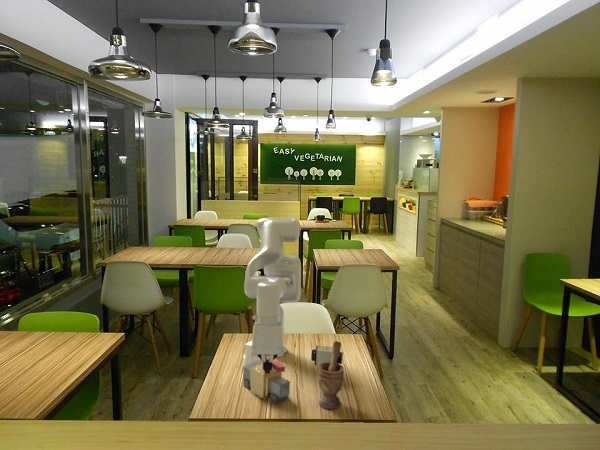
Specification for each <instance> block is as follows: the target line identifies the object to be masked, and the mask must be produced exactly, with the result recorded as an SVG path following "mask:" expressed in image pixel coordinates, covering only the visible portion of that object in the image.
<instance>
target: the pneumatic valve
mask: <svg viewBox="0 0 600 450" xmlns="http://www.w3.org/2000/svg"><path fill="white" fill-rule="evenodd" d="M332 347H333V346H330V345H326V346H325V345H316V346H315V348H313V349H312V350H311V355H310V356H311V359H310V360H311V362H313V363H314V366H316V367H318V366H319V365H320V364H321V363H325V362H331V357H332ZM343 360H344V352H342V351H340V352H339V355H338V359H337V363H338V364H340V365H343Z"/></svg>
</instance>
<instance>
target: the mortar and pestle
mask: <svg viewBox="0 0 600 450" xmlns="http://www.w3.org/2000/svg"><path fill="white" fill-rule="evenodd" d="M331 347H332V357H331V362H325V363H321V364H320V365H319V366H317V374H318V375H317V381H318V387H319V389H320V390H321V392H322V393H323V394H322V395H321V396H320V397H319V400H318V404H319V406H320V407H321V408H322V409H327V410H328V409H329V410H330V409H331V410H332V409H339V407H340V406H341V403H342V402H341V399H340V397H339V396H337V394H338V393H339V392H341V390H342V386H343V382H344V372H345V371H344V370H345V369H344V366H343V364H338V363H337V359H338V355H339V352H341V347H342V343H341V342H339V341H335V340H334V342H333V343H332V346H331Z"/></svg>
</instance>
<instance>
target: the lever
mask: <svg viewBox="0 0 600 450" xmlns="http://www.w3.org/2000/svg"><path fill="white" fill-rule="evenodd" d="M269 357H270V355H266V358H267V360H268V359H269ZM272 368H273V369H274V370H275V371H276V372H277V373H280V372H281V373H284V372H285V365H284V364H283V363H281V362H280V361H279V360H278V359H277V358H275V359H274V360H273V362H272Z"/></svg>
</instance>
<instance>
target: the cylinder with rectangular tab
mask: <svg viewBox="0 0 600 450" xmlns="http://www.w3.org/2000/svg"><path fill="white" fill-rule="evenodd" d="M244 349H245V350H244V354H243V358H242V359H243V364H242V365H243V366H246V365H249V364H252V363H254V364H256V365H260V364H263V362H262V360H261V359H260V358H259V357H258V356H253V355H252V354H251V353H252V340H250V341H248V342H247V343H244ZM243 366H242V367H243Z"/></svg>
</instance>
